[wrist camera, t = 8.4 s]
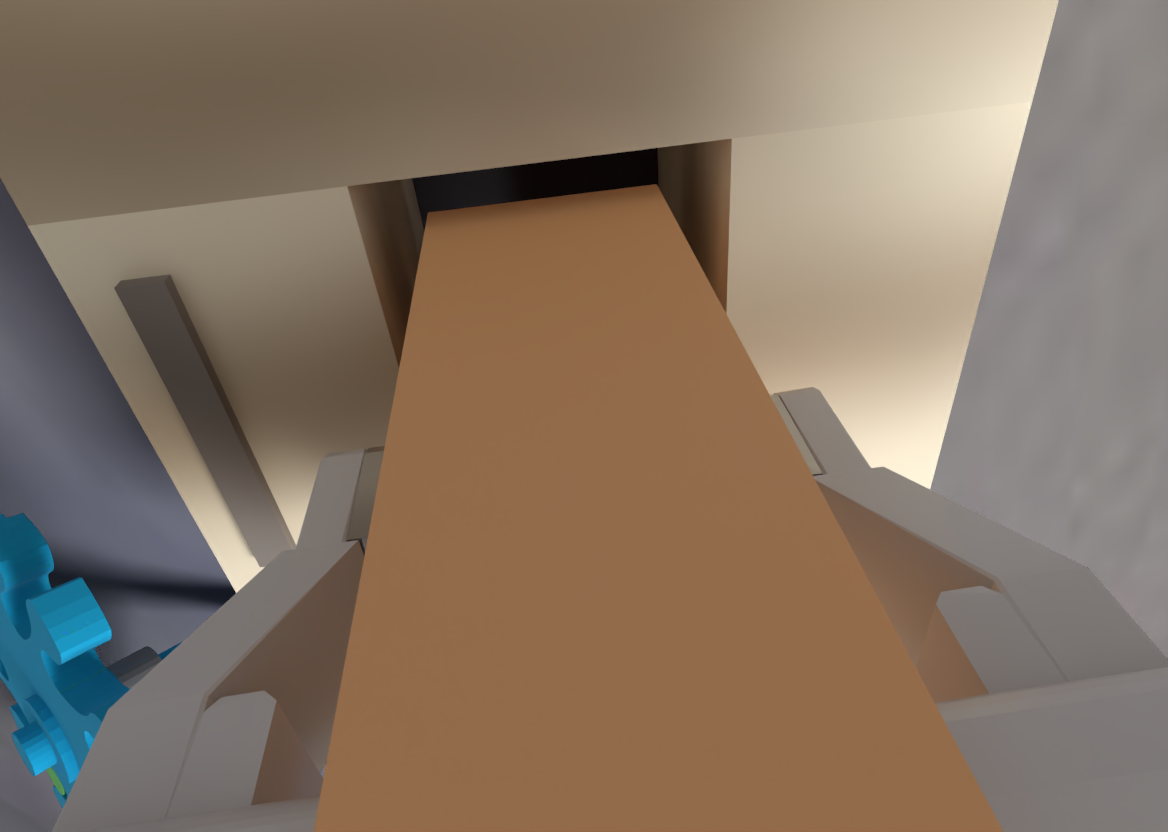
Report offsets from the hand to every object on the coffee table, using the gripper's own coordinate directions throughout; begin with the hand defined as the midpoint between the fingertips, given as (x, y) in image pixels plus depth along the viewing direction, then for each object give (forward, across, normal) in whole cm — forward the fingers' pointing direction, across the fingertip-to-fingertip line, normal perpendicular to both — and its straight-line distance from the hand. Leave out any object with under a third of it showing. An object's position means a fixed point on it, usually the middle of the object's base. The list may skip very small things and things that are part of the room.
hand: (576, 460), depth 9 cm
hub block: (+7, 0, 0) cm, 7 cm away
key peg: (+2, 0, 0) cm, 2 cm away
